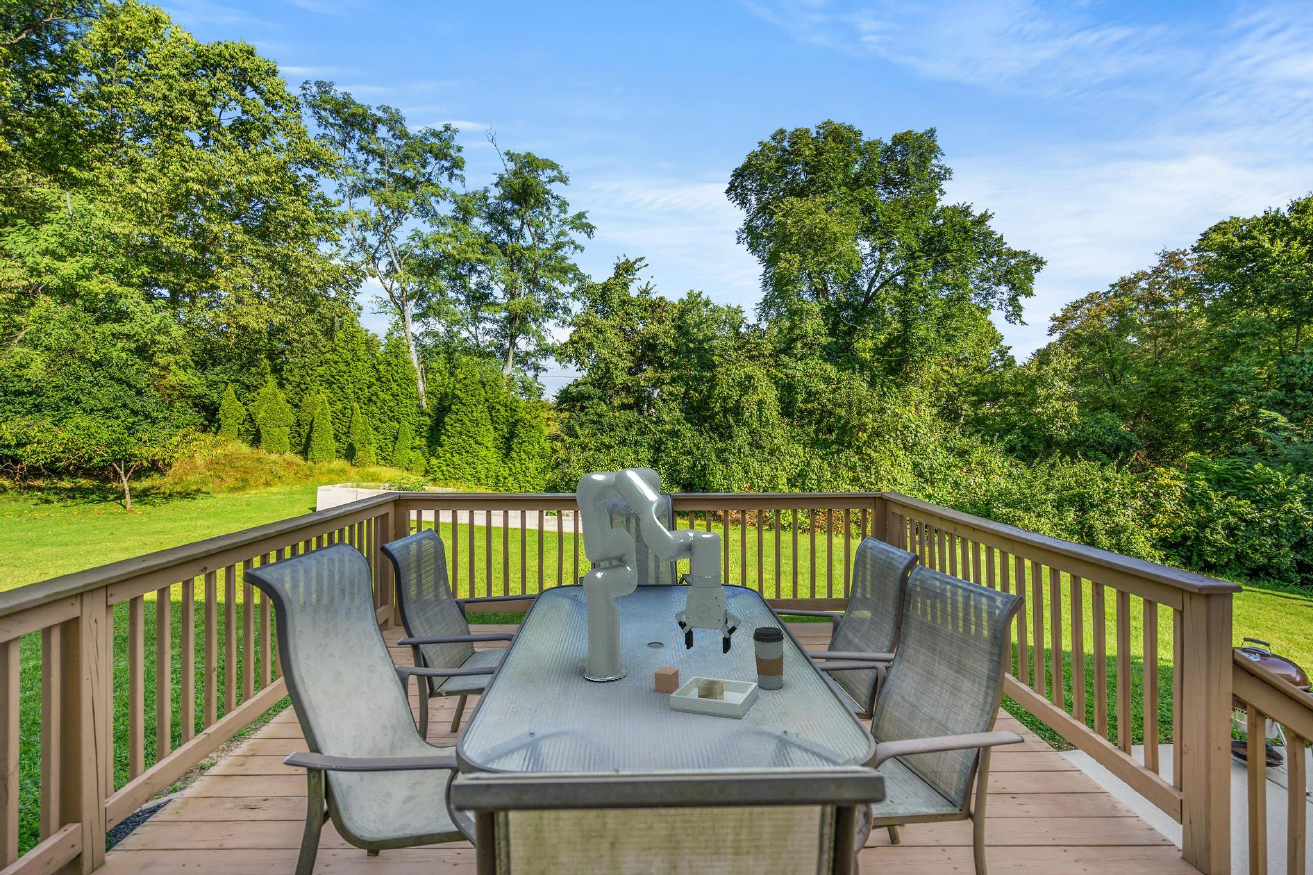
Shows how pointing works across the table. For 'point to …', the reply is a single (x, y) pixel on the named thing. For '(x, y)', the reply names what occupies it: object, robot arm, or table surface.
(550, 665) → the table surface
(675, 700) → the tray
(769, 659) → the coffee cup
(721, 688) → the maple block
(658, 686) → the terracotta block
